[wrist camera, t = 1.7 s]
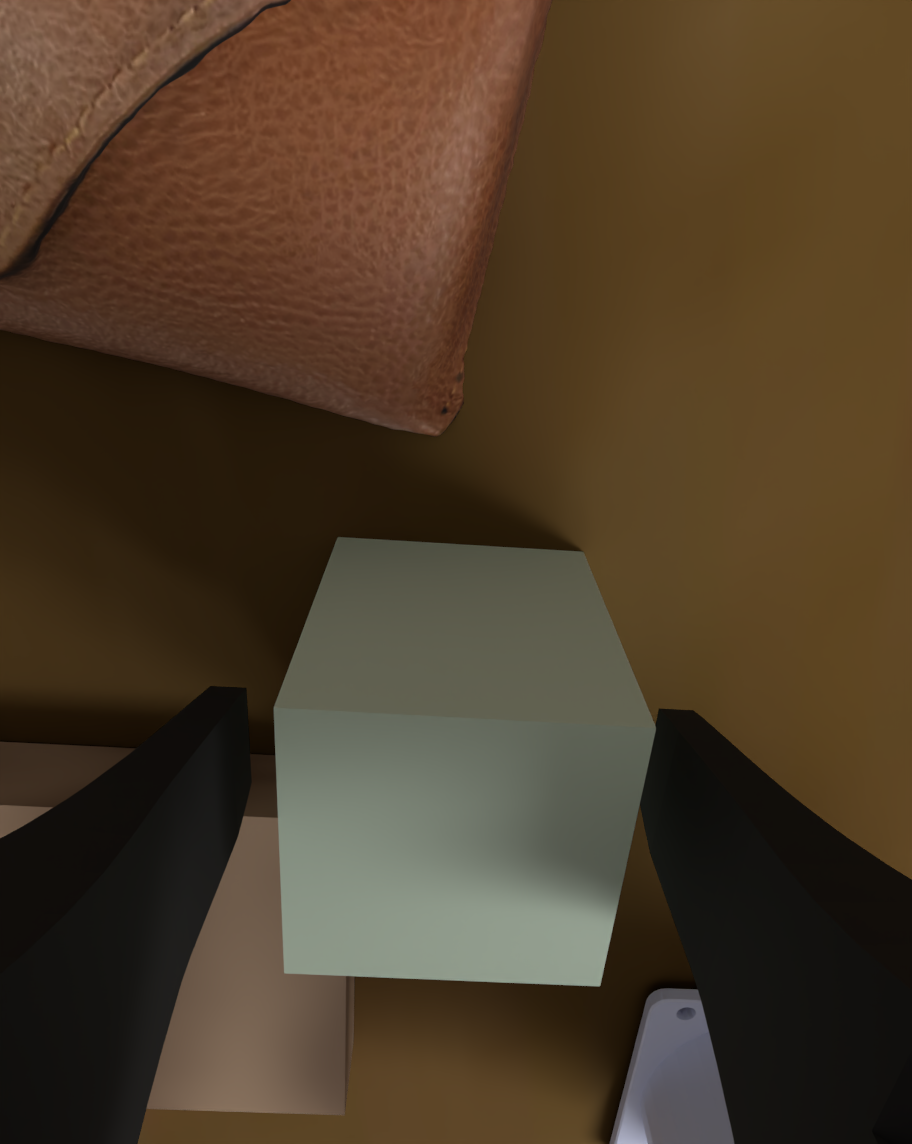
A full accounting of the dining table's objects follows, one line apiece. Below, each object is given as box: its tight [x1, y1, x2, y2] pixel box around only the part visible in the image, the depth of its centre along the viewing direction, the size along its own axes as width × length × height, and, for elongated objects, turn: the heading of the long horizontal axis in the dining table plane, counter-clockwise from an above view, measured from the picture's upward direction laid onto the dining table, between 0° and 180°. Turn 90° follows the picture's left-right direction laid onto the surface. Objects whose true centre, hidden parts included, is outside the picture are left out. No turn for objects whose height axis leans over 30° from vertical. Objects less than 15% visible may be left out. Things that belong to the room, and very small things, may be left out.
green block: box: [274, 537, 656, 986], centre depth 13 cm, size 5×5×6 cm
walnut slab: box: [0, 742, 355, 1115], centre depth 18 cm, size 10×10×2 cm
